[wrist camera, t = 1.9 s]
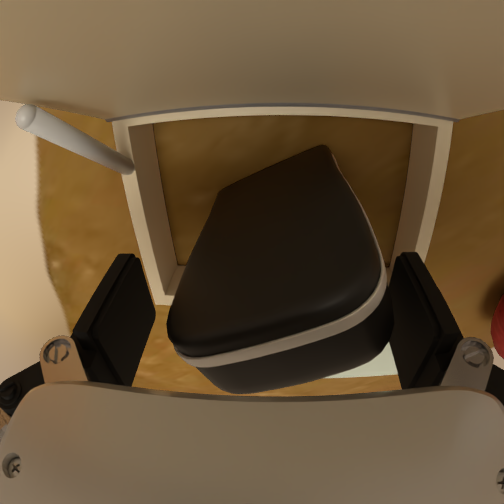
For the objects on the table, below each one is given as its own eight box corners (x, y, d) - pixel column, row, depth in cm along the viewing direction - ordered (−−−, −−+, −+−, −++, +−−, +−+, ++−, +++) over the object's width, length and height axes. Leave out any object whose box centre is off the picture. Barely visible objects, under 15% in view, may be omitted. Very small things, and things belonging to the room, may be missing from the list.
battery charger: (245, 242, 20) (214, 417, 10) (213, 191, 18) (144, 356, 9) (354, 199, 18) (416, 369, 8) (329, 139, 16) (397, 279, 6)
